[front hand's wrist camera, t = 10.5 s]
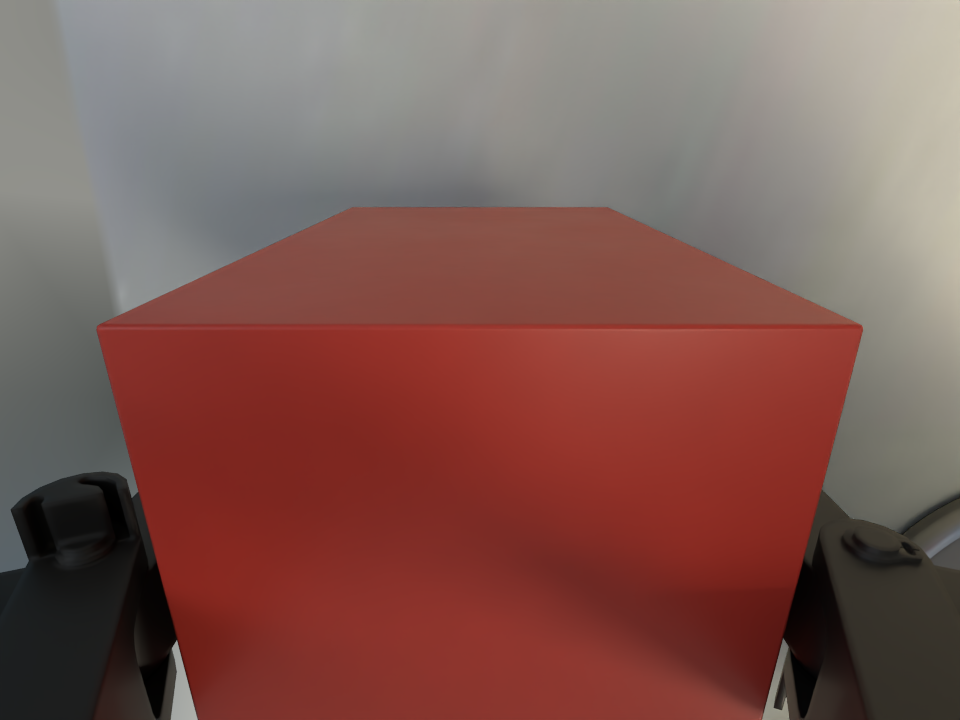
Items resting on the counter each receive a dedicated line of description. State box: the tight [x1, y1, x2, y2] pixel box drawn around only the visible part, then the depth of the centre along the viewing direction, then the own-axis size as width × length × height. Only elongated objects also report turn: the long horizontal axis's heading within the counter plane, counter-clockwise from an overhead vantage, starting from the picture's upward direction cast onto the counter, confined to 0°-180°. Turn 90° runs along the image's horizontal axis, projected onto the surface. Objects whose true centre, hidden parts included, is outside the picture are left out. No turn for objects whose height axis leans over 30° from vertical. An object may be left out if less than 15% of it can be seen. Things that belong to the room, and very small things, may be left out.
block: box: [97, 207, 863, 720], centre depth 12 cm, size 7×9×11 cm
